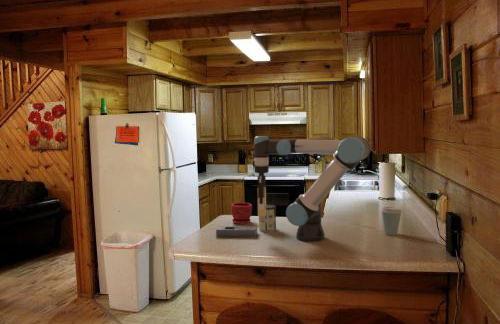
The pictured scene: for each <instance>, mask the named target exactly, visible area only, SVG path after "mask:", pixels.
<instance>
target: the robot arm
mask: <svg viewBox="0 0 500 324" xmlns="http://www.w3.org/2000/svg"><path fill="white" fill-rule="evenodd" d="M253 139H254V140H253V141H254V142H253V148H254V149H253V152H254V153H253V154H254V156H253V157H254V158H253V160H252V161H253V162H254V168H253V169H254V170H253V172H254V174H258V176H257V199H258V198H259V210H264V187H266V179H267V177H266V175H265V174H268V173H269V172H270V171H269V169H270V167H269V162H270V161H269V160H270V157H269V155H276V156H277V155H279V156H280V155H281V156H287V155H289V154H310V155H312V154H313V155H333V159H332V160H331V162H330V163H329V164H328V166H327V167H326V168H325V169H324V170H323V172H322V173H321V174H320V175H319V176H318V177H317V179H316V180H315V181H314V183H313V184H312V185H310V187H309V188H308V190H307V191H306V192H305V193H303V194H302V193H301V194H300V195H299V196H298V197H297V198H296V199H295V201H294V202H293V203H291V204H289V205H288V206H287V208H286V210H285V217H286V219H287V221H288V222H289V223H290V224H291V225H293V226H296V227H297V231H296V233H295V234H296V240H299V241H303V242H310V243H311V242H320V241H323V240H325V238H326V237H325V235H326V234H325V232H324V228H323V225H322V201H323V200H325V197H327V195H328V194H329V193H330V192H331V191H332V189H334V187H335V186H336V185H337V183H339V182H340V180H341V179H342V178H343V177H344V176H345V174H346V173H347V172H348V171H353V170H354V169H355V167H356V166H357V165H358V164H359V163H360V162H361V161H362V160H365V159H366V158H367V157H369V155H370V153H371V150H372V149H371V144H370V142H369V141H368V139H367V138H365V137H362V136H350V137H345V138H343V139H308V138H306V139H304V138H303V139H302V138H301V139H299V138H298V139H297V138H296V139H295V138H287V139H269V136H267V135H265V136H264V135H258V136H255V137H254V138H253Z"/></svg>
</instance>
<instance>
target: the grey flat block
mask: <svg viewBox="0 0 500 324" xmlns="http://www.w3.org/2000/svg"><path fill="white" fill-rule="evenodd" d="M215 235H216V238H218V237H219V238H257V236H258V226H235V225H234V226H230V225H229V226H226V225H224V226H222V225H221V226H218V227H217V228H216V230H215Z"/></svg>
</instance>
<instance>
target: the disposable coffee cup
mask: <svg viewBox="0 0 500 324" xmlns="http://www.w3.org/2000/svg"><path fill="white" fill-rule="evenodd" d="M380 211H381V215H382V216H381V217H382V224H383V233H384V234H385V235H387V236H391V237H392V236H397V234H398V231H399V227H400V226H399V225H400V221H401V216H402V215H401V214H402V209H401V208H400V207H394V206H382V208H381V210H380Z"/></svg>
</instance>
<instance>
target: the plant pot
mask: <svg viewBox="0 0 500 324" xmlns="http://www.w3.org/2000/svg"><path fill="white" fill-rule="evenodd" d="M230 209H231V215H232V220H231V221H232V223H235V224H237V225H246V224H248V223H251V216H252V212H253V205H252V204H251V203H249V202H233V203H231V208H230Z"/></svg>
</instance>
